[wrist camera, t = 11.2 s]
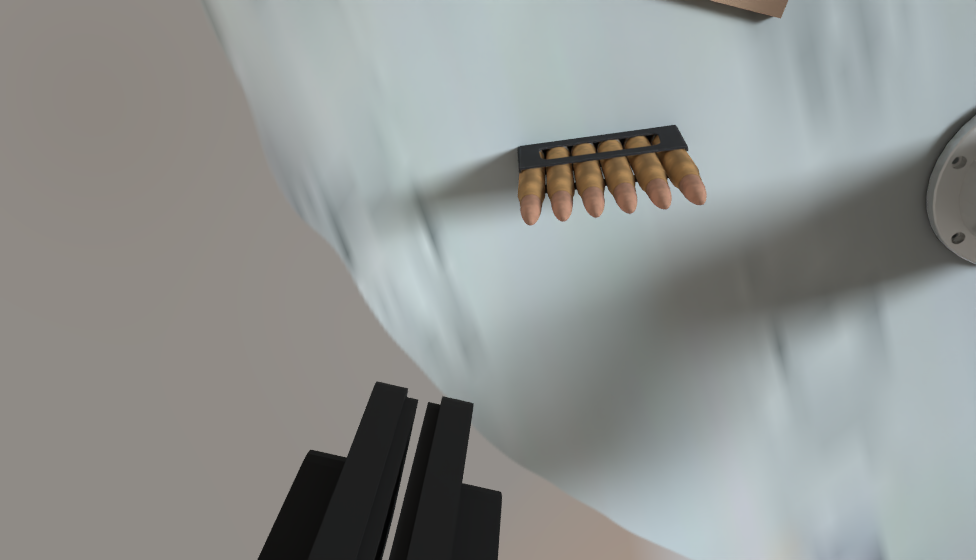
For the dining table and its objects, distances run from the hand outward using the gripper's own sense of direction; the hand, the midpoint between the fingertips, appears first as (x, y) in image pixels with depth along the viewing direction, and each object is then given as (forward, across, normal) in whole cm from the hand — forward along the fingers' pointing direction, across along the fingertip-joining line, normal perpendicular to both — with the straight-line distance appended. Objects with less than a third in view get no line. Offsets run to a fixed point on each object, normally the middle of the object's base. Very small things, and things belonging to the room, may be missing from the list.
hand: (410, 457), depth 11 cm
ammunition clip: (+35, -7, +3) cm, 36 cm away
